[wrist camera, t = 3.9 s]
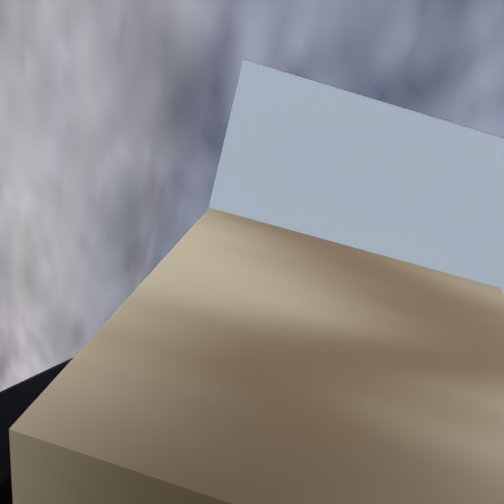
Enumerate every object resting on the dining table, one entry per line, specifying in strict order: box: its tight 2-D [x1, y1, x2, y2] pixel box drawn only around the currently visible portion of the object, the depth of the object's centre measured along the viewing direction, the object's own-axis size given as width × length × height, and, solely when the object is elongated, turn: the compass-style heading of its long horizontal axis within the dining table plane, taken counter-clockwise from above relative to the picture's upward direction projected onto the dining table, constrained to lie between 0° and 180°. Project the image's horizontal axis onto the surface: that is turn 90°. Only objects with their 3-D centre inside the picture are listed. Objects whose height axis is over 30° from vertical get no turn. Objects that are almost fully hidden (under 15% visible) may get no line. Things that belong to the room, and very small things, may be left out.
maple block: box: [9, 208, 504, 504], centre depth 6 cm, size 5×5×5 cm
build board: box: [208, 60, 504, 293], centre depth 19 cm, size 24×18×1 cm
